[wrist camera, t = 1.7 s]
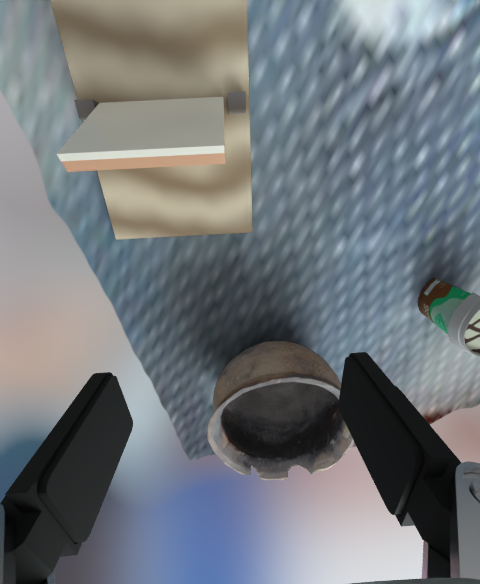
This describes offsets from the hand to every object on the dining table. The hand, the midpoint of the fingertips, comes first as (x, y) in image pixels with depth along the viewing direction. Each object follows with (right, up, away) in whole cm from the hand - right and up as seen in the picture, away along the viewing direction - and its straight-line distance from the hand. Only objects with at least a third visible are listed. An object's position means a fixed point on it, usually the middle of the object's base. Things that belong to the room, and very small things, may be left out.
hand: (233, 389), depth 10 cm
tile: (-8, +20, +15) cm, 26 cm away
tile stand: (-9, +26, +19) cm, 34 cm away
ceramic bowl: (+6, -11, +38) cm, 40 cm away
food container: (+35, +2, +33) cm, 48 cm away
